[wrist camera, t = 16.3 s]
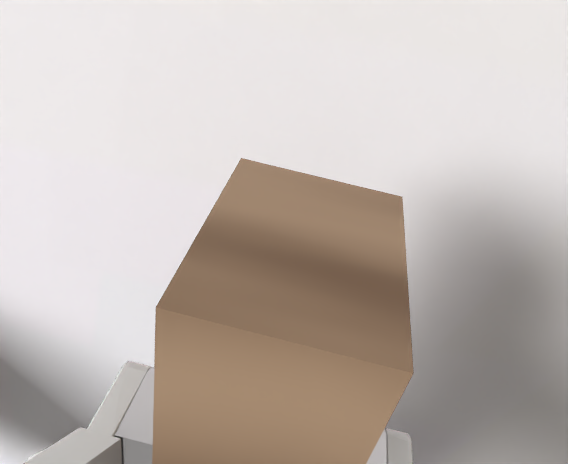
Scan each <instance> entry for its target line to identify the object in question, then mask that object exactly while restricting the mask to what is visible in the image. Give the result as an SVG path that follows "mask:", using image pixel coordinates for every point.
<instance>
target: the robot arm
mask: <svg viewBox="0 0 568 464" xmlns="http://www.w3.org/2000/svg"><path fill="white" fill-rule="evenodd" d="M153 408H154V367H151V366H147V365H143V364H139V363H136V362H132V361H128V362H127V363H126V364H125V365H124V366H123V367H122V368H121V370H120V372H119V374H118V375H117V377H116V379H115V381H114V382H113V384H112V386H111V388H110V389H109V391H108V393H107V395H106V396H105V398H104V400H103V402H102V403H101V405H100V407H99V409H98V410H97V412H96V414H95V416H94V417H93V419H92V421H91V422H90V424H89V426H88V428H87V429H85V428H81V427H79V428H78V429H76V430H75V431H73V432H72V433H70V434H69V435H67V436H65V437H64V438H62V439H61V440H59V441H58V442H56V443H55V444H53V445H51V446H50V447H48V448H47V449H45V450H44V451H42V452H41V453H39V454H37V455H36V456H34V457H33V458H31V459H30V460H28V461H27V462H25V463H23V464H152V451H153ZM366 464H413V457H412V440H411V438H410V435H409V434H408V433H405V432H401V431H396V430H392V429H388V428H385V429H384V431H383V433H382V434H381V436H380V438H379V440H378V442H377V444H376V446H375V448H374V450H373V452H372V454H371V456H370V457H369V459H368V461H367V463H366Z"/></svg>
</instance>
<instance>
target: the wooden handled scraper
mask: <svg viewBox="0 0 568 464" xmlns="http://www.w3.org/2000/svg"><path fill="white" fill-rule="evenodd" d="M412 375H413V358H412V343H411V327H410V311H409V295H408V280H407V264H406V248H405V232H404V216H403V201H402V197H401V196H396V195H392V194H388V193H384V192H380V191H376V190H371V189H367V188H363V187H359V186H355V185H351V184H346V183H342V182H338V181H334V180H330V179H326V178H321V177H317V176H313V175H309V174H305V173H301V172H296V171H292V170H288V169H284V168H280V167H276V166H271V165H267V164H263V163H259V162H255V161H251V160H246V159H242V158H241V160H240V161H239V163H238V165H237V167H236V168H235V170H234V172H233V174H232V175H231V177H230V179H229V180H228V182H227V184H226V186H225V187H224V189H223V191H222V193H221V194H220V196H219V198H218V200H217V201H216V203H215V205H214V207H213V208H212V210H211V212H210V214H209V215H208V217H207V219H206V221H205V222H204V224H203V226H202V228H201V229H200V231H199V233H198V235H197V236H196V238H195V240H194V242H193V243H192V245H191V247H190V249H189V250H188V252H187V254H186V256H185V257H184V259H183V261H182V263H181V264H180V266H179V268H178V270H177V271H176V273H175V275H174V277H173V278H172V280H171V282H170V284H169V285H168V287H167V289H166V291H165V292H164V294H163V296H162V298H161V299H160V301H159V303H158V305H157V306H156V323H155V366H154V408H153V451H152V464H366V463H367V461H368V459H369V457H370V456H371V454H372V452H373V450H374V448H375V446H376V444H377V442H378V440H379V438H380V436H381V434H382V433H383V431H384V429H385V427H386V425H387V423H388V421H389V419H390V417H391V415H392V413H393V411H394V410H395V408H396V406H397V404H398V402H399V400H400V398H401V396H402V394H403V392H404V390H405V388H406V387H407V385H408V383H409V381H410V379H411V377H412Z"/></svg>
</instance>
